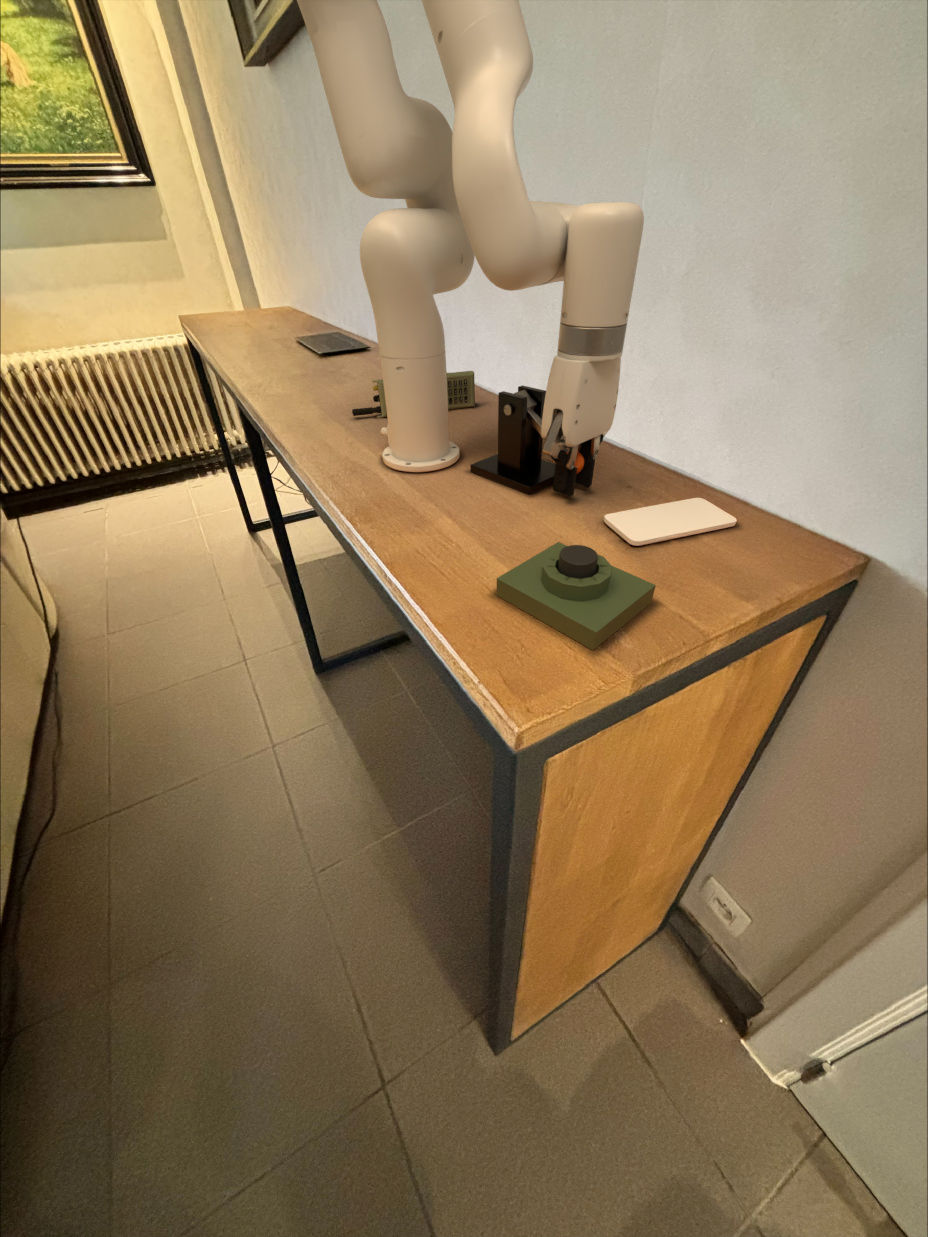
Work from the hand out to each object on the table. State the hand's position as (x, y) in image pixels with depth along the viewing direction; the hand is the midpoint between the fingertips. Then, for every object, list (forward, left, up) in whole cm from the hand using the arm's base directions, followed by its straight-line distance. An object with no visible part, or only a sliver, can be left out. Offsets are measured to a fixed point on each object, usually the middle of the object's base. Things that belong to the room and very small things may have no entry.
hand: (572, 487), depth 69 cm
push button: (+15, -20, +3) cm, 25 cm away
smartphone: (+14, +1, -1) cm, 14 cm away
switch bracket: (-10, 0, -1) cm, 10 cm away
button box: (+15, -20, -1) cm, 25 cm away
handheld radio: (-46, +9, -1) cm, 47 cm away
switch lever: (-6, 0, +5) cm, 8 cm away
